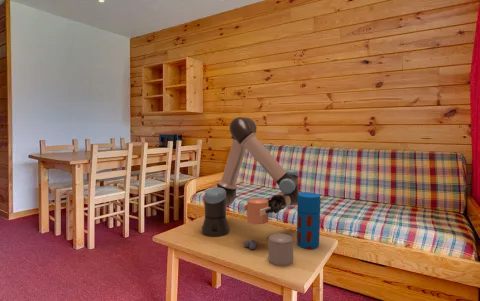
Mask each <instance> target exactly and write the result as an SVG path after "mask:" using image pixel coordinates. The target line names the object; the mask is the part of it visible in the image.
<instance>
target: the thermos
mask: <svg viewBox="0 0 480 301" xmlns="http://www.w3.org/2000/svg"><path fill="white" fill-rule="evenodd" d="M296 209H297V214H296V217H297V218H296V219H297V220H296V244H297V247H299V248H302V249H305V250H315V249H318V248H319V245H320V231H321V230H320V229H321V228H320V227H321V226H320V225H321V220H320V219H321V195H320V194H318V193H315V192H300V193H299V194H298V203H297V208H296Z"/></svg>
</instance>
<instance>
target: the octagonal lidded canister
mask: <svg viewBox="0 0 480 301" xmlns="http://www.w3.org/2000/svg"><path fill="white" fill-rule="evenodd" d="M268 200H269V199H266V198H263V197H251V198H248V199H247V200H246V204H247V210H246V221H247V223H250V224H252V225H265V224H268V223H269V213H268V214H265V215H262V216H260V209H264V208H267V207H268Z"/></svg>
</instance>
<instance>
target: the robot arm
mask: <svg viewBox="0 0 480 301" xmlns="http://www.w3.org/2000/svg"><path fill="white" fill-rule="evenodd" d="M257 129H258V128H257V124H256V122H255V121H254V120H253V119H252V118H249V117H247V116H246V117H243V116H239V117H236V118H234V119H232V120H231V122H230V123H229V133H230V134H231V141H232V142H231V143H232V144H231V146H230V150H229V154H228V156H227V161H226V163H225V166H224V170H223V174H222V176H221V180H219V181H217V186H216V187H212V188H211V187H210V188H208V189H206V191H205V192H204V197H203V198H204V220H203V223H202V227H201V234H202V235H204V236H207V237H221V236H225V235H227V234H229V233H230V227H229V224H228V223H229V222H228V219H227V207H229V206H231V205H232V204H233V203H234V202H235V200H236V199H237V189H238V187H237V179H238V176H239V174H240V169H241V167H242V164H243V160H244V157H245V154H246V151H248V153H249V154H251V156H252V157H253V158H254V159H255V161H257V163H258V164H259V165H260V166H261V168H263V169H264V171H265V172H266V173H267V174H268V175H269V176H270V177H271V179H272V180H273V181H274V182H275V183H276V184H277V185H278V189H279V190H280V192H281V193H279V194H276V195H273V196H272V197H271V198H270V199H267V200H268V207H267V208H264V209H260V216H262V215H265V214H268V215H269V214H273V213H274V214H278V213H279V212H281V210H284V209H285V208H288V207H292V206H296V205H298V194H299V193H301V192H300V191H299V171H298V170H296V169H284V168H283V166H282V165H281V164H280V162H278V161H277V159H276V158H275V157H274V156H273V155H272V154H271V153H270V152H269V150H267V148H265V146H264V145H263V143H261V141H259V139H258V138H257V137H256V136H255V135H256V133H257ZM242 211H243V212H247V203H246V204H243V205H242Z"/></svg>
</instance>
